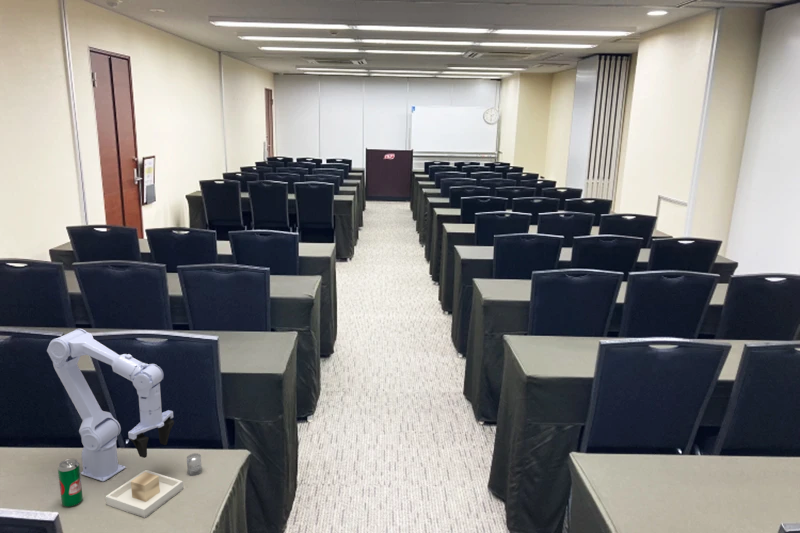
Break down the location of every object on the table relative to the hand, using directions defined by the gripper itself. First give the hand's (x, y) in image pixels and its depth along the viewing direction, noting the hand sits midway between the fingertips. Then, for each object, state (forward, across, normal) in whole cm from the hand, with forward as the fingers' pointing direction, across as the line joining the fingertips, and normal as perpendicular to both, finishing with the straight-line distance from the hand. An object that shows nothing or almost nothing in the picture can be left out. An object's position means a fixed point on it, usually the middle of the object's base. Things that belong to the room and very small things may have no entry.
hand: (153, 450), depth 163 cm
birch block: (+9, -7, -4) cm, 12 cm away
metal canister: (+9, +8, -8) cm, 14 cm away
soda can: (+10, -18, +12) cm, 23 cm away
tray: (+9, -8, -4) cm, 13 cm away
